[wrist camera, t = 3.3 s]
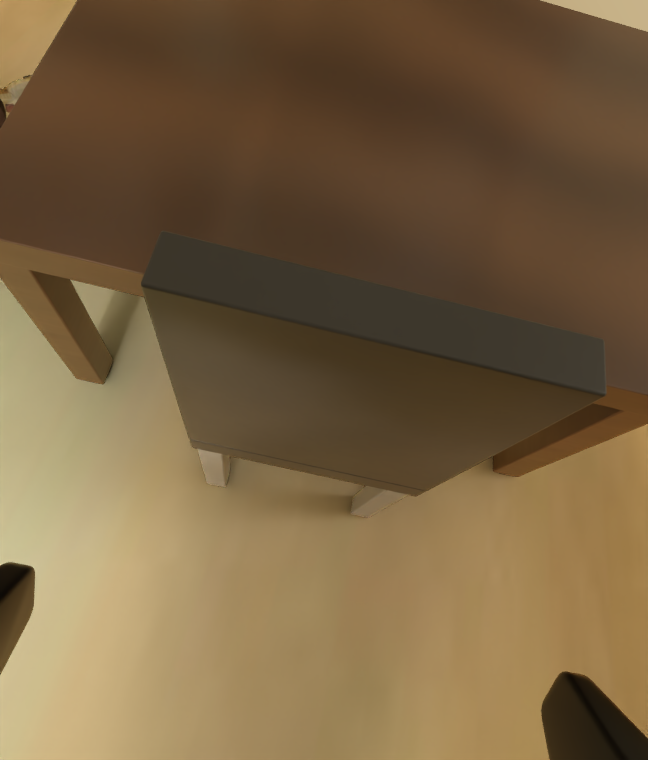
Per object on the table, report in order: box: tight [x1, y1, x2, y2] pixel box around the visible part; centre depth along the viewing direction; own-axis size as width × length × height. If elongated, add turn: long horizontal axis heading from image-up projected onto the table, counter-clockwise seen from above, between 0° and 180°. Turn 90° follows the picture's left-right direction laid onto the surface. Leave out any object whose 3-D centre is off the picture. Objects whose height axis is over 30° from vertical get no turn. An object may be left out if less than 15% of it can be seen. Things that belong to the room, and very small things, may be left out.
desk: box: [0, 0, 648, 477], centre depth 21 cm, size 16×20×10 cm
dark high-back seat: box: [141, 231, 607, 518], centre depth 16 cm, size 7×7×15 cm
